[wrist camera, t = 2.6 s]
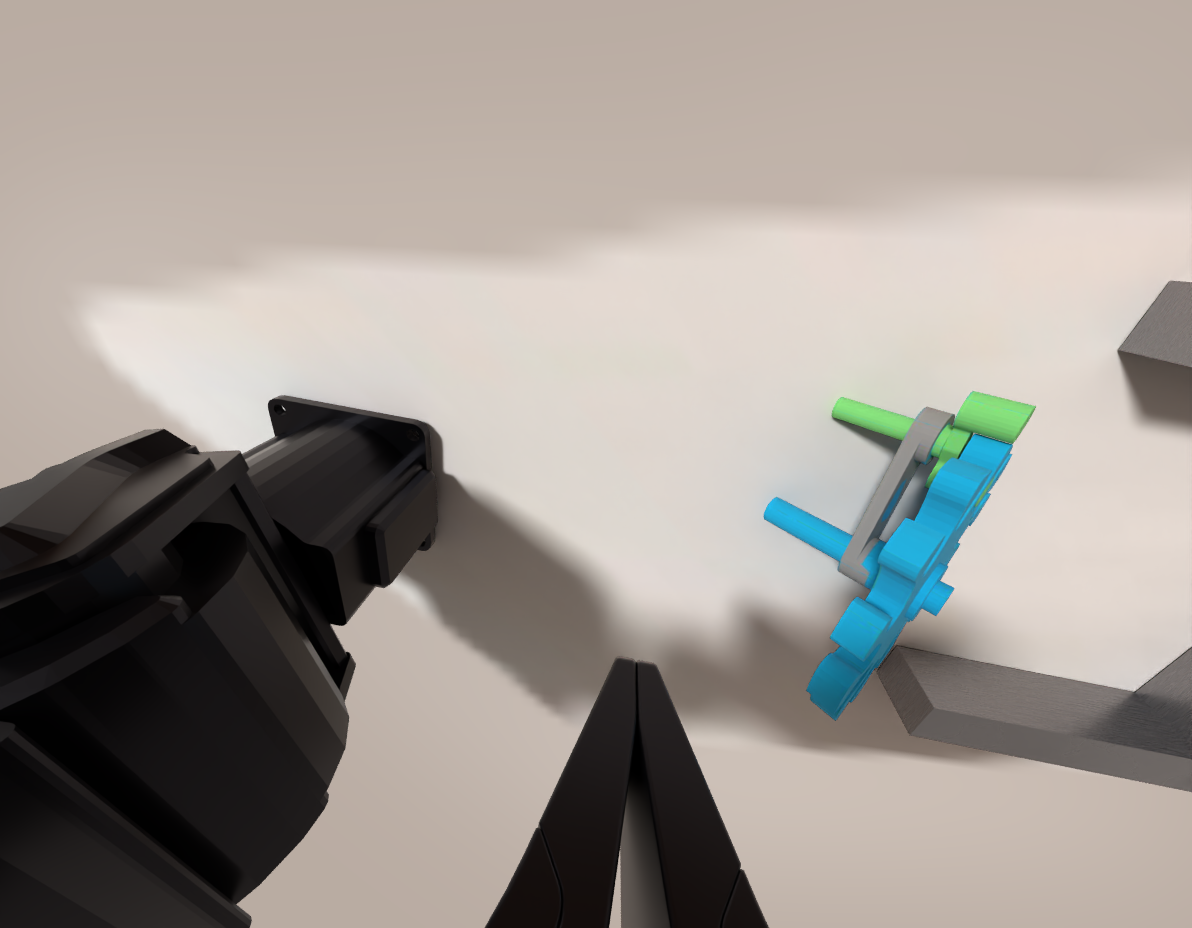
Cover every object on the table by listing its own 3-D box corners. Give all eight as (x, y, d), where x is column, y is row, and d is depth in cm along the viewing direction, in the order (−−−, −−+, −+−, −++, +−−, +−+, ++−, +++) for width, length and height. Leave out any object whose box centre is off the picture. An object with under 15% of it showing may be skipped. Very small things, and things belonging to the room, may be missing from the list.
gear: (907, 660, 18) (811, 802, 11) (781, 577, 22) (655, 648, 15) (1070, 414, 14) (1067, 413, 7) (879, 368, 18) (766, 340, 11)
